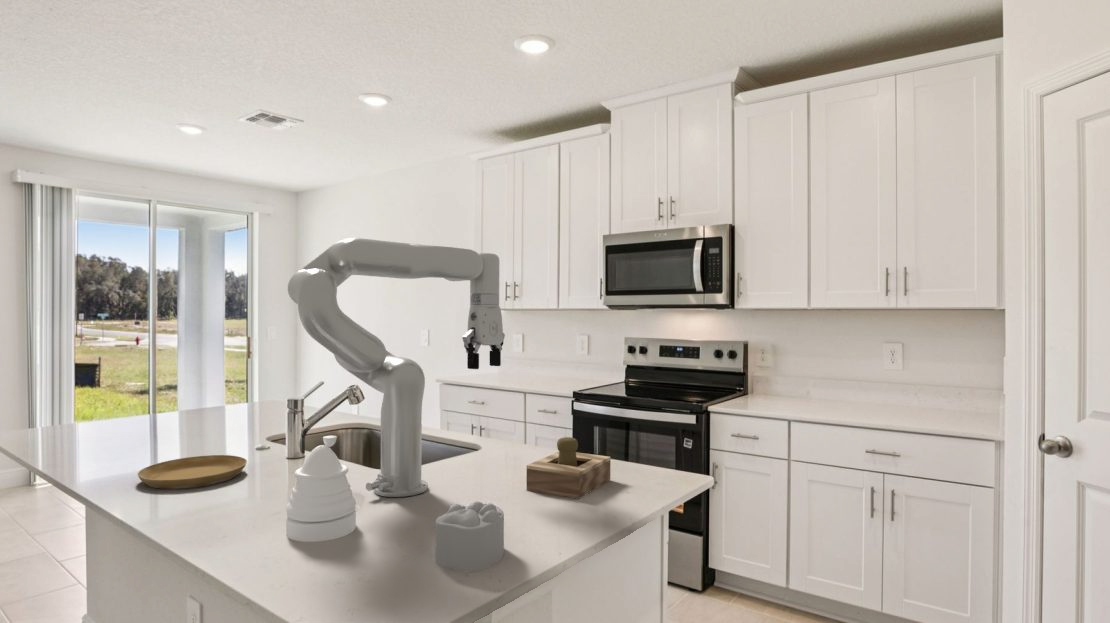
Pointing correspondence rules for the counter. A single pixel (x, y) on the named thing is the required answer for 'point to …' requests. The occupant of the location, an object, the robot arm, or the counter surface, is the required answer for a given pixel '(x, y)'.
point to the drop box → (568, 475)
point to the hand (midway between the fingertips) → (484, 367)
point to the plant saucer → (192, 471)
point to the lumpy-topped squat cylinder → (469, 537)
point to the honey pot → (321, 498)
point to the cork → (567, 451)
